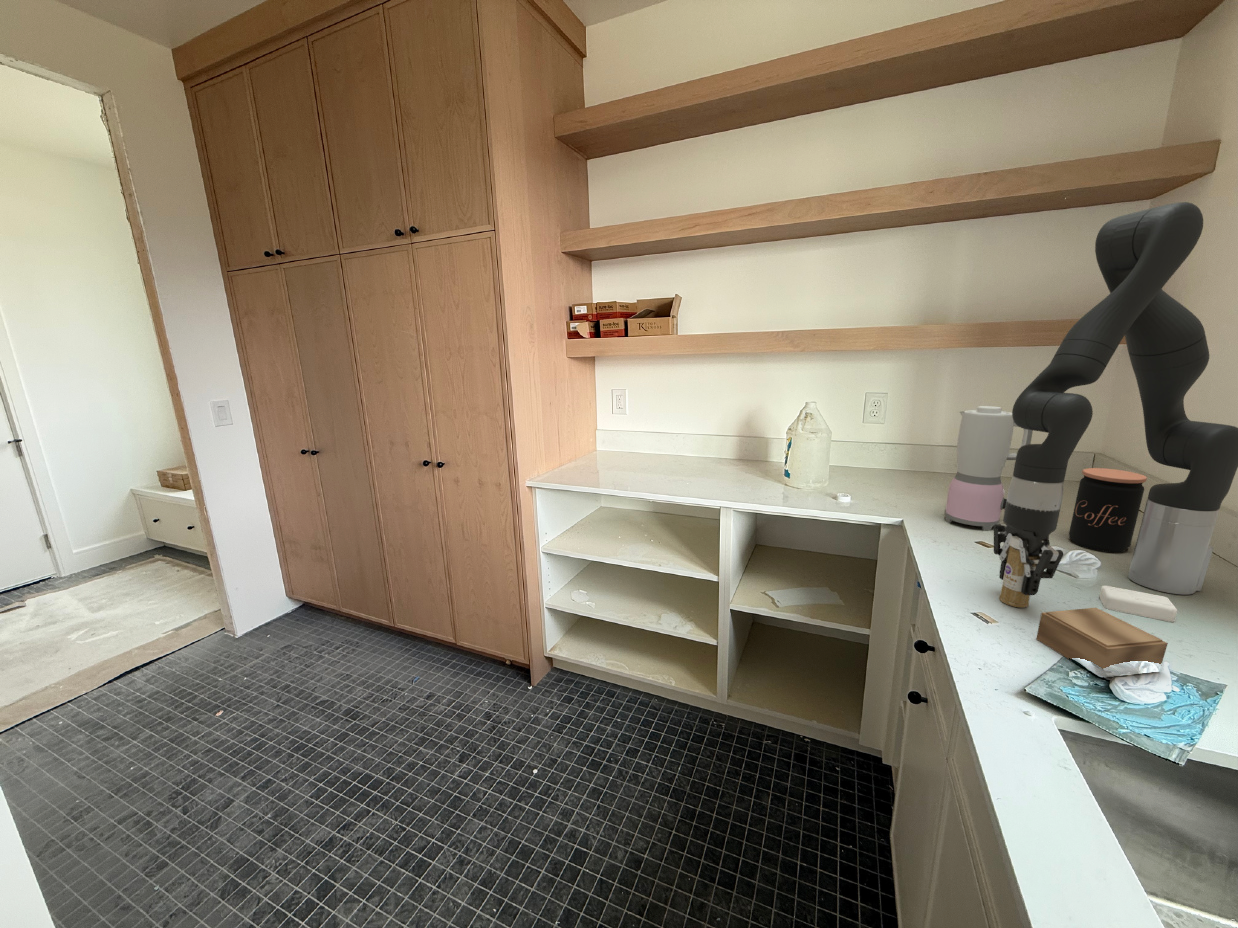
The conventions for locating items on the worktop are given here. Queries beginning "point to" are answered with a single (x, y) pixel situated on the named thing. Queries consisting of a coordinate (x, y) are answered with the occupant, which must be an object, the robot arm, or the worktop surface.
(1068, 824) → the worktop surface
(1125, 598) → the soap
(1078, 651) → the walnut block
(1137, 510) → the coffee jar
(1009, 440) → the blender
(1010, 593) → the sprinkles bottle
